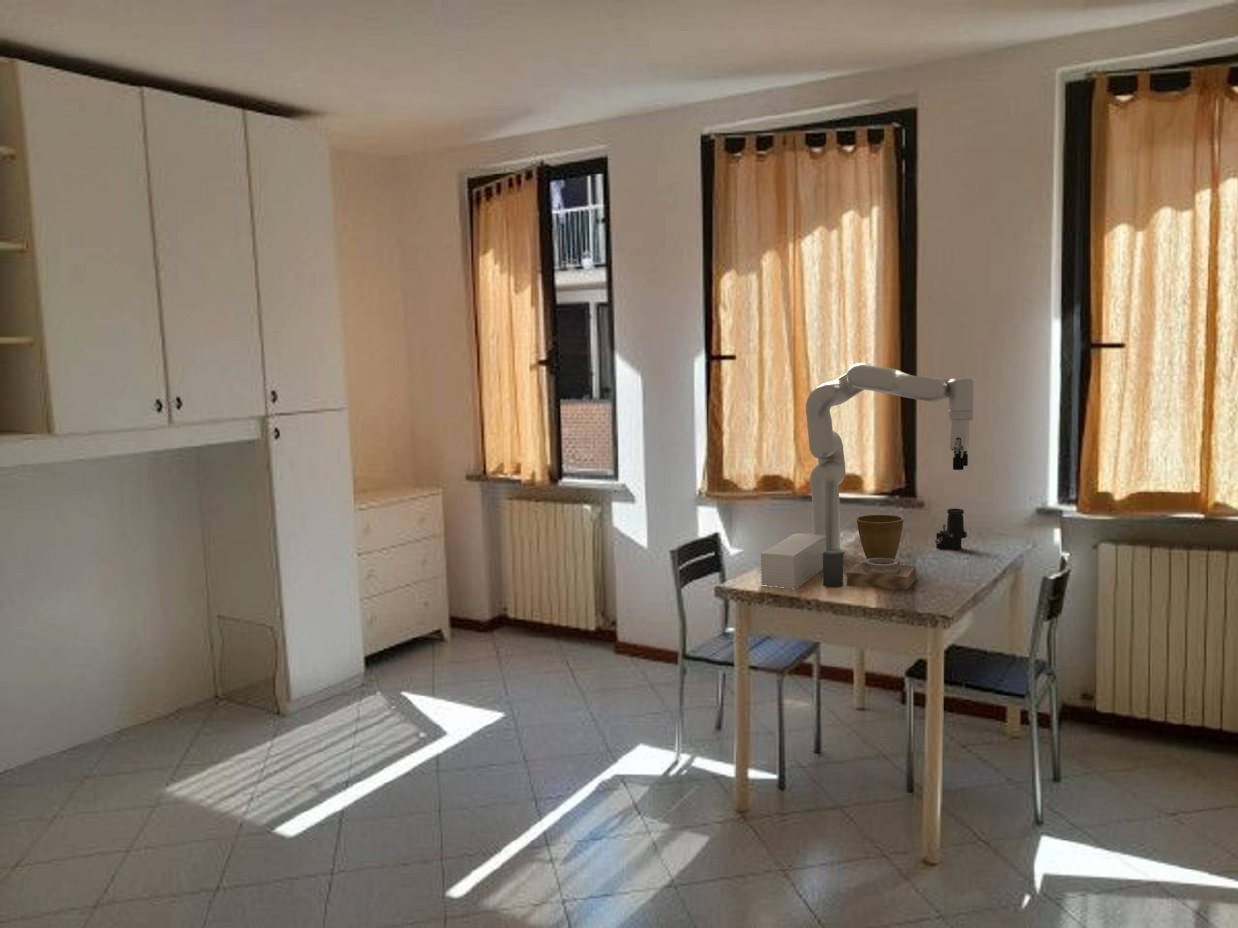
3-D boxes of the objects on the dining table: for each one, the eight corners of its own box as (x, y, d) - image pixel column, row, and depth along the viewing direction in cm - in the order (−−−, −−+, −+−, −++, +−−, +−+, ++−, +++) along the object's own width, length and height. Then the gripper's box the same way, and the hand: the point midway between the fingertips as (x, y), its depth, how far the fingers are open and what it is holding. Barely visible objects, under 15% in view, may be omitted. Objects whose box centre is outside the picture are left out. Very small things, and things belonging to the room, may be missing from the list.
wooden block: (846, 585, 297) (846, 564, 296) (857, 574, 309) (857, 554, 308) (907, 590, 289) (907, 568, 288) (915, 578, 301) (915, 558, 300)
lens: (820, 586, 296) (820, 553, 295) (826, 581, 302) (825, 549, 300) (840, 588, 294) (840, 555, 292) (845, 583, 299) (845, 551, 298)
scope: (942, 506, 345) (970, 508, 339) (942, 544, 347) (970, 547, 341) (934, 510, 338) (963, 512, 332) (934, 549, 340) (962, 552, 334)
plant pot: (904, 561, 324) (904, 514, 322) (901, 572, 310) (901, 523, 308) (859, 559, 329) (859, 513, 327) (854, 569, 315) (854, 521, 313)
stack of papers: (795, 564, 327) (795, 533, 326) (826, 566, 322) (826, 535, 320) (761, 587, 299) (760, 553, 298) (794, 590, 294) (793, 555, 293)
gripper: (952, 413, 325) (952, 464, 328) (944, 418, 310) (944, 471, 312) (976, 413, 322) (975, 464, 324) (969, 418, 307) (968, 471, 309)
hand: (960, 467), depth 318 cm, fingers open, 9 cm apart
